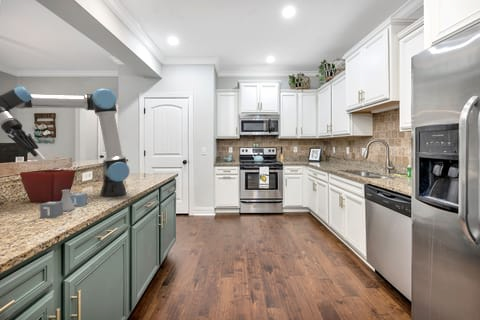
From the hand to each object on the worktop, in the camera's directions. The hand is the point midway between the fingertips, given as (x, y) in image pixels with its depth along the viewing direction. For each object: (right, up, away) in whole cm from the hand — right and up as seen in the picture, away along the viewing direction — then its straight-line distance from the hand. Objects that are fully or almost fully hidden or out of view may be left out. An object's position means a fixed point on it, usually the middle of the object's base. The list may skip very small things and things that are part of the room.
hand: (42, 160), depth 133 cm
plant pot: (-12, -23, +22) cm, 34 cm away
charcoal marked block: (+13, -25, -12) cm, 30 cm away
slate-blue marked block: (+12, -24, +10) cm, 28 cm away
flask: (+13, -24, -1) cm, 27 cm away
